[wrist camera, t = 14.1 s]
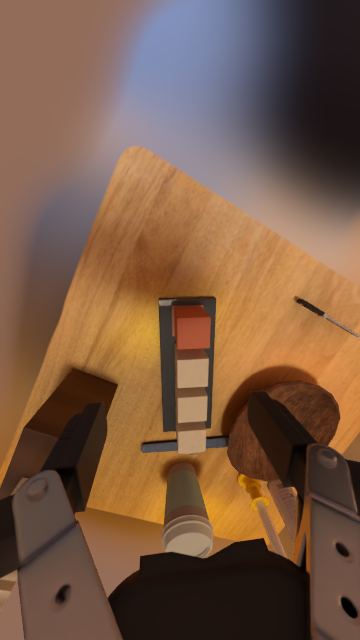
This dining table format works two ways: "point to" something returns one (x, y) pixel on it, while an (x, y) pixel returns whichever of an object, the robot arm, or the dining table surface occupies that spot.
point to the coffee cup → (186, 514)
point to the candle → (262, 510)
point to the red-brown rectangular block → (192, 328)
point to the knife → (324, 315)
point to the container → (284, 504)
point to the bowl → (308, 408)
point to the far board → (169, 356)
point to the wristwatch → (173, 446)
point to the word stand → (49, 437)
